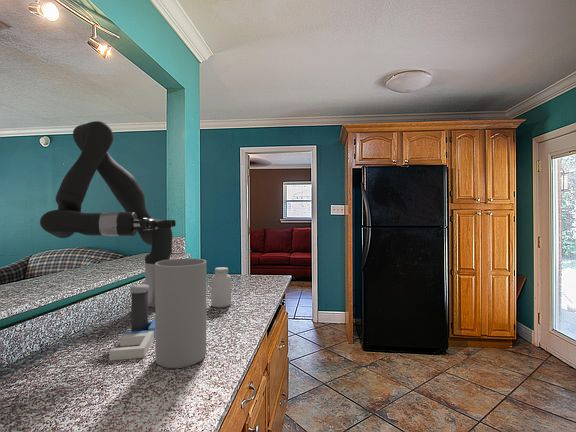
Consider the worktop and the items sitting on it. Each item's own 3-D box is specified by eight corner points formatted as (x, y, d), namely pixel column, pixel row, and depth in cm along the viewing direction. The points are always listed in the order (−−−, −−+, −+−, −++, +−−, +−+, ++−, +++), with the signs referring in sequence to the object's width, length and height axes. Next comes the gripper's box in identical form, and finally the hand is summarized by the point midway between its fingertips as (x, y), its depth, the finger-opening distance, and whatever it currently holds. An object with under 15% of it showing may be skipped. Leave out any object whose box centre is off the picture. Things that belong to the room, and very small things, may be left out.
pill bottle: (234, 303, 129) (234, 267, 129) (224, 308, 121) (224, 270, 121) (218, 301, 131) (218, 265, 131) (207, 306, 124) (207, 269, 124)
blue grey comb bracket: (109, 360, 79) (109, 348, 79) (132, 329, 100) (132, 319, 100) (144, 357, 81) (144, 345, 81) (160, 327, 101) (160, 318, 101)
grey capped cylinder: (127, 335, 95) (127, 286, 95) (142, 330, 99) (142, 283, 99) (136, 339, 92) (136, 289, 92) (151, 334, 96) (152, 285, 96)
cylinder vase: (177, 375, 72) (177, 268, 72) (145, 361, 79) (144, 263, 79) (216, 354, 83) (216, 261, 83) (184, 343, 90) (184, 257, 89)
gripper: (125, 234, 104) (176, 233, 108) (110, 238, 90) (169, 237, 94) (125, 211, 104) (176, 212, 107) (110, 212, 90) (169, 212, 93)
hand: (173, 223), depth 100 cm, fingers open, 8 cm apart
